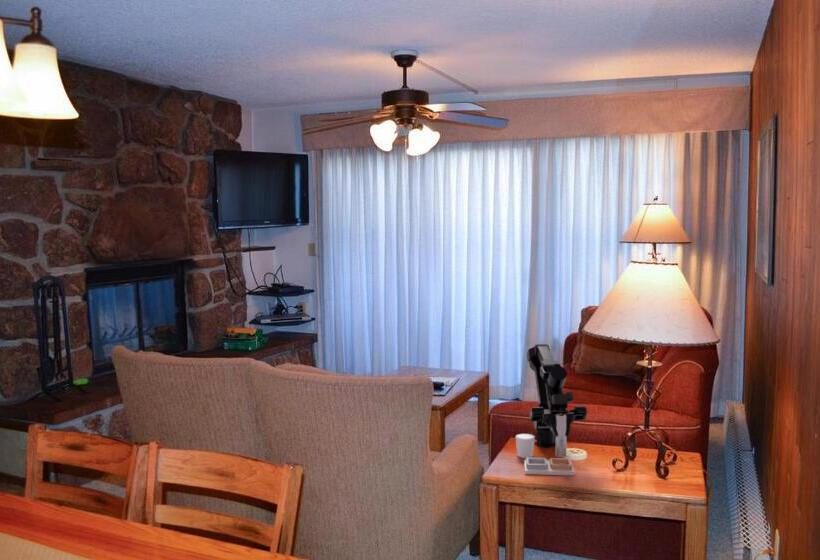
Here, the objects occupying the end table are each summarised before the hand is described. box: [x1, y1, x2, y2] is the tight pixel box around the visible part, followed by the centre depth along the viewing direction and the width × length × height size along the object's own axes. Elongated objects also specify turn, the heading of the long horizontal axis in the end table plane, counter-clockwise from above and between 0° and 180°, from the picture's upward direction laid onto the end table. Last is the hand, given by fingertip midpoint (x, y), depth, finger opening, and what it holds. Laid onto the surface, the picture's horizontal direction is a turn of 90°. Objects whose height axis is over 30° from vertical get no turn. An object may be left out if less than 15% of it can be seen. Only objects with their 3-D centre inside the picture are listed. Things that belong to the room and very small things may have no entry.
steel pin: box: [555, 413, 567, 458], centre depth 247 cm, size 4×4×14 cm
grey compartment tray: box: [523, 457, 575, 476], centre depth 249 cm, size 10×16×3 cm, turn 83°
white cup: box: [515, 433, 536, 459], centre depth 263 cm, size 7×7×7 cm
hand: (561, 436), depth 246 cm, fingers closed on steel pin, 4 cm apart
